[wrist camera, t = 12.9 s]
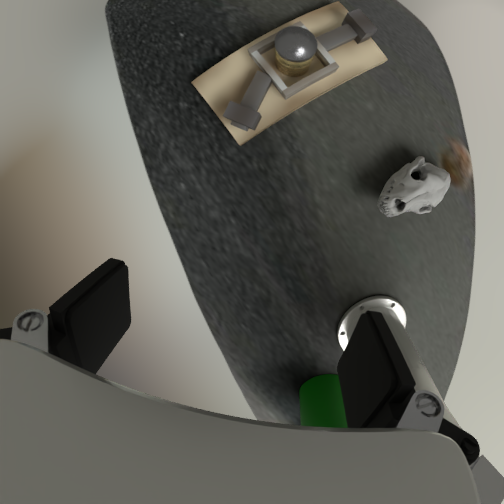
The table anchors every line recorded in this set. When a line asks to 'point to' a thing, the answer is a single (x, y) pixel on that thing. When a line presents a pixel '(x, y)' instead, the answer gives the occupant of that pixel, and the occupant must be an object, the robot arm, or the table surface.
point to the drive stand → (284, 87)
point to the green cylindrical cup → (322, 402)
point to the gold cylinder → (294, 50)
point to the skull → (414, 189)
